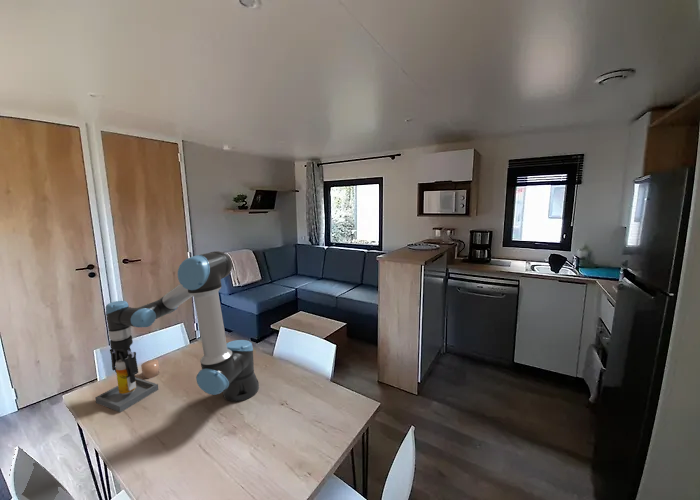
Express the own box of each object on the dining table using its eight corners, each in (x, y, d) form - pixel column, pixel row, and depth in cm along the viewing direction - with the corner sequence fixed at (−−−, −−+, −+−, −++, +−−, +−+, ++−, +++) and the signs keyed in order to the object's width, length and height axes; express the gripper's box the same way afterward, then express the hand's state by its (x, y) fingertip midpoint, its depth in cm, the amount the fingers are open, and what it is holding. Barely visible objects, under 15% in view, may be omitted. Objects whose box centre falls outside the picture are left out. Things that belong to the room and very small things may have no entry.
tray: (158, 389, 133) (157, 384, 133) (120, 412, 119) (119, 406, 118) (135, 382, 139) (134, 376, 139) (96, 402, 124) (95, 397, 124)
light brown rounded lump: (162, 372, 147) (161, 361, 146) (148, 380, 141) (147, 368, 140) (153, 369, 150) (152, 358, 149) (139, 377, 143) (137, 365, 142)
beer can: (129, 395, 125) (125, 362, 123) (115, 395, 126) (111, 362, 123) (139, 386, 131) (136, 355, 129) (126, 386, 132) (122, 355, 129)
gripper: (144, 337, 125) (150, 386, 128) (116, 330, 132) (122, 377, 135) (126, 344, 118) (132, 397, 121) (96, 337, 125) (104, 387, 128)
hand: (127, 387), depth 128 cm, fingers closed on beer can, 6 cm apart
